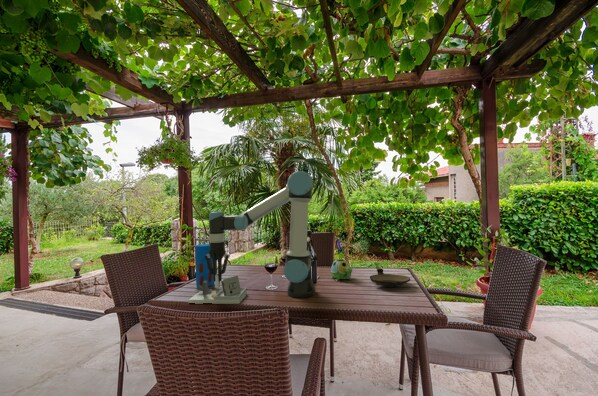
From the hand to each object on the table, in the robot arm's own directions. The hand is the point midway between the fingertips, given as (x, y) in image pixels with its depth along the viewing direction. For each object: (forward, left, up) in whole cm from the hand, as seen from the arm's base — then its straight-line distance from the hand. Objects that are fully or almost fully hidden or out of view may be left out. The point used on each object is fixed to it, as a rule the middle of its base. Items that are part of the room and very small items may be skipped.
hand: (217, 287), depth 153 cm
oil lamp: (-93, -27, -7) cm, 97 cm away
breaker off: (+7, -6, -4) cm, 10 cm away
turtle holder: (-66, -39, -7) cm, 77 cm away
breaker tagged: (+7, 0, -4) cm, 8 cm away
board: (+1, -3, -7) cm, 8 cm away
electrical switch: (-6, -4, -5) cm, 8 cm away
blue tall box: (+18, -27, -7) cm, 33 cm away
